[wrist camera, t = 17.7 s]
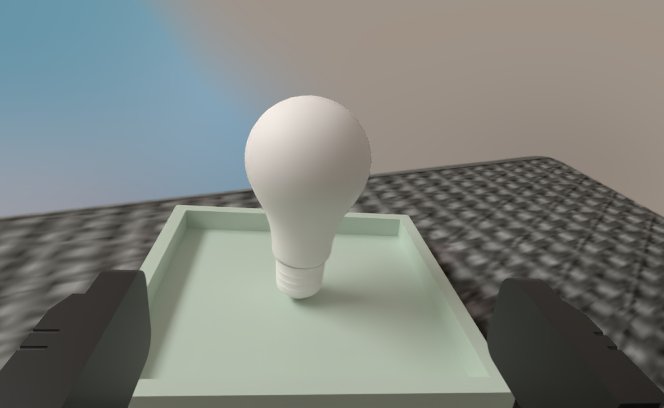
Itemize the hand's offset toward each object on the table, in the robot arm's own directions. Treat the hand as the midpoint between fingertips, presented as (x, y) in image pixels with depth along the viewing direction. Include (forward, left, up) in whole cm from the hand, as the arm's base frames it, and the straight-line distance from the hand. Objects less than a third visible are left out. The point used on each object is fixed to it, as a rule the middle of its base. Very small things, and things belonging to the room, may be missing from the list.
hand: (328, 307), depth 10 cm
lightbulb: (0, -12, -9) cm, 15 cm away
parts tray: (0, -12, -9) cm, 15 cm away
